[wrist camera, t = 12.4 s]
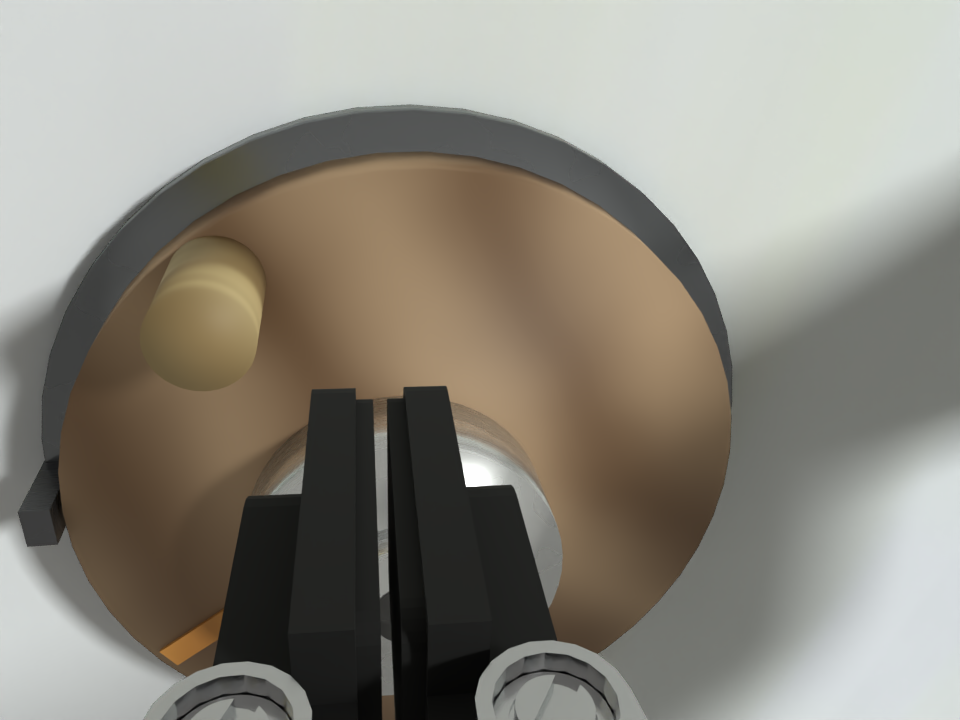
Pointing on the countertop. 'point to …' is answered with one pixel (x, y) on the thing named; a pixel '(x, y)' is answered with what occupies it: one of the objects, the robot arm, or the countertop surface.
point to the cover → (485, 463)
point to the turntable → (394, 380)
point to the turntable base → (302, 149)
